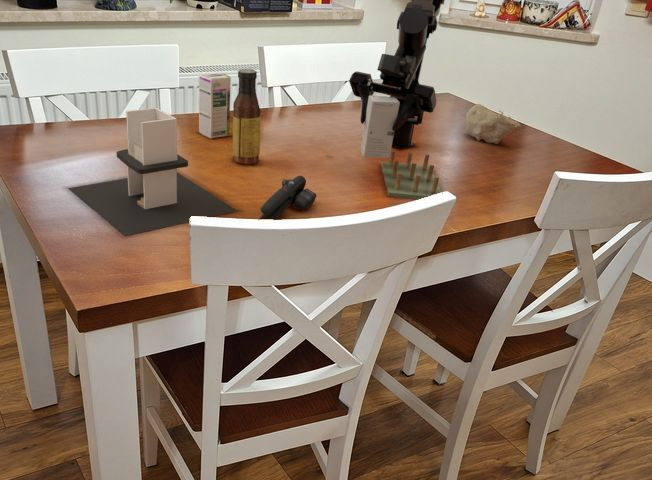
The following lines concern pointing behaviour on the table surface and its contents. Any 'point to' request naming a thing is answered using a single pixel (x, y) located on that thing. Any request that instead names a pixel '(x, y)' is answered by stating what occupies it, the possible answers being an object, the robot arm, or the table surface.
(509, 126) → the beige lumpy chunk
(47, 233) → the table surface
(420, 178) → the plate rack
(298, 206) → the can opener
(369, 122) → the cosmetic box
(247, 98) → the sauce bottle
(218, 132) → the syrup box
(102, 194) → the box holder stand
